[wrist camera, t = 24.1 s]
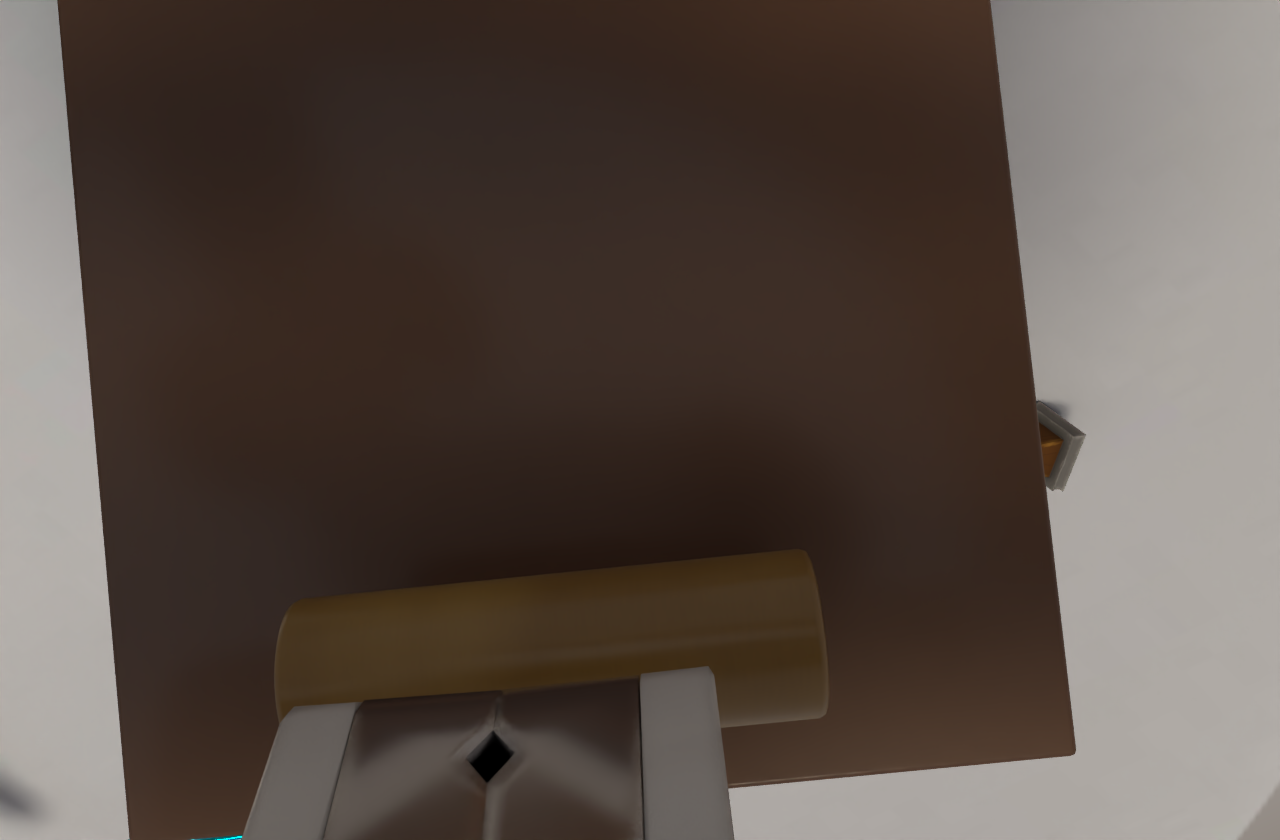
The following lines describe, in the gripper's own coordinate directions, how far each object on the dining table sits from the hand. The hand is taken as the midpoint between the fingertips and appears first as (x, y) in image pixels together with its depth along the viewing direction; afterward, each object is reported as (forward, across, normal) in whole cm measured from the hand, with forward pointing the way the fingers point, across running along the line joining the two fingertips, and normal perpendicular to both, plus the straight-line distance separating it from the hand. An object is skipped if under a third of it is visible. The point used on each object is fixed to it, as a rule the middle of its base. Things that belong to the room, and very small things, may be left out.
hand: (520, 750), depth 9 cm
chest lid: (+9, 0, -2) cm, 9 cm away
